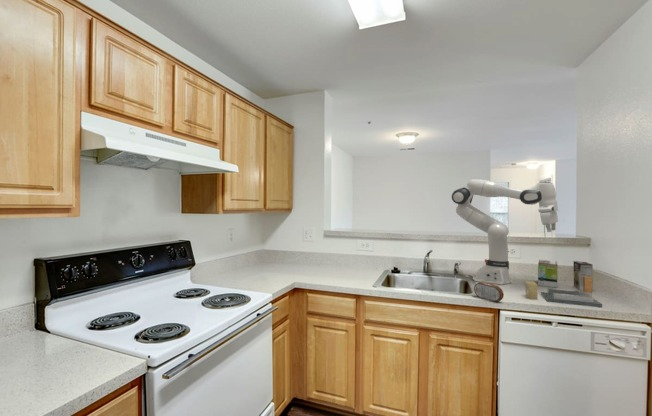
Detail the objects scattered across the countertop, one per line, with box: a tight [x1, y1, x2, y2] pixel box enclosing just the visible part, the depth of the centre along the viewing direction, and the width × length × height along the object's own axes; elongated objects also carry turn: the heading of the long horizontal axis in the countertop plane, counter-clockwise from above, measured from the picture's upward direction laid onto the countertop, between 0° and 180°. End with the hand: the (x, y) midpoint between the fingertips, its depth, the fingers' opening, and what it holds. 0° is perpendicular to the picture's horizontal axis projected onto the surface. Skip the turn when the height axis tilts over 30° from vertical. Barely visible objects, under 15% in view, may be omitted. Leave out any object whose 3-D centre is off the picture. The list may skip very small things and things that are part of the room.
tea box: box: [537, 259, 559, 289], centre depth 190 cm, size 15×10×15 cm, turn 143°
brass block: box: [525, 280, 539, 300], centre depth 162 cm, size 4×8×8 cm, turn 156°
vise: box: [540, 291, 603, 308], centre depth 156 cm, size 22×14×4 cm, turn 66°
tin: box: [473, 282, 504, 303], centre depth 158 cm, size 15×3×8 cm, turn 30°
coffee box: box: [573, 260, 594, 293], centre depth 178 cm, size 9×6×16 cm
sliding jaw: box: [546, 276, 593, 297], centre depth 161 cm, size 19×2×10 cm, turn 66°
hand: (551, 231), depth 178 cm, fingers open, 8 cm apart
